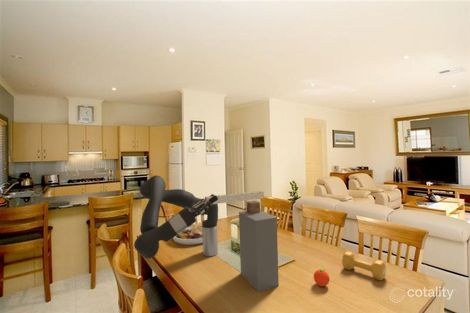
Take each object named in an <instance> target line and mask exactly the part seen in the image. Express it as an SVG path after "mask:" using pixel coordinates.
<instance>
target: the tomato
mask: <svg viewBox="0 0 470 313" xmlns="http://www.w3.org/2000/svg"><path fill="white" fill-rule="evenodd" d="M313 280H314V282H315V284H316V285H318V286H320V287H325V286H327V285H328V284H329V282H330V276H329V273H328V272H327V271H326V270H325V269H324V268H320V269H317V270H315V272H314V274H313Z"/></svg>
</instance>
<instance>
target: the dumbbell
mask: <svg viewBox="0 0 470 313" xmlns="http://www.w3.org/2000/svg"><path fill="white" fill-rule="evenodd" d="M341 263H342V267H343V269H345V270H347V271H351V270H353V269H354V267H356V268H359V269H361V270H362V269H363V270H364V271H369V272H371V273H372V274H371V275H372V276H373V278H374V279H375V280H377V281H380V282H381V281H382V280H384V278H385V277H386V273H387V272H386V271H387V268H386V264H385V262H384V261H383V260H380V259H377V260H375V261H374V262H372V263H370V262H366V261H363V260H358V259H356V257H355V254H354V253H353V252H351V251H345V253H343V255H342V260H341Z"/></svg>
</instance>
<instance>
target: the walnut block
mask: <svg viewBox="0 0 470 313" xmlns="http://www.w3.org/2000/svg"><path fill="white" fill-rule="evenodd" d="M260 210H261V202H260V201H258V200H246V211H247V212H249V213H258V212H260Z"/></svg>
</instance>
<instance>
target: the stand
mask: <svg viewBox="0 0 470 313" xmlns="http://www.w3.org/2000/svg"><path fill="white" fill-rule="evenodd" d="M238 221H239V222H238V224H239V228H238V229H239V251H240V252H239V255H240V257H239V258H240V274H241V275H242V277H243V278H244V279H245V280H246V281H247V282H248V283H249V285H250V286H251V287H252V288H254V290H255V291H256V292H257V293H260V292H263V291H265V290H268V289H269V290H270V289H272V288H276V287H279V282H280V281H279V255H278V254H279V250H278V248H279V247H278V218H277V216H274V215H273V214H270V213H268V212H265V211H263V210H261V209H260V212H258V213H249V212H247V210H242V211H239V212H238Z"/></svg>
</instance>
